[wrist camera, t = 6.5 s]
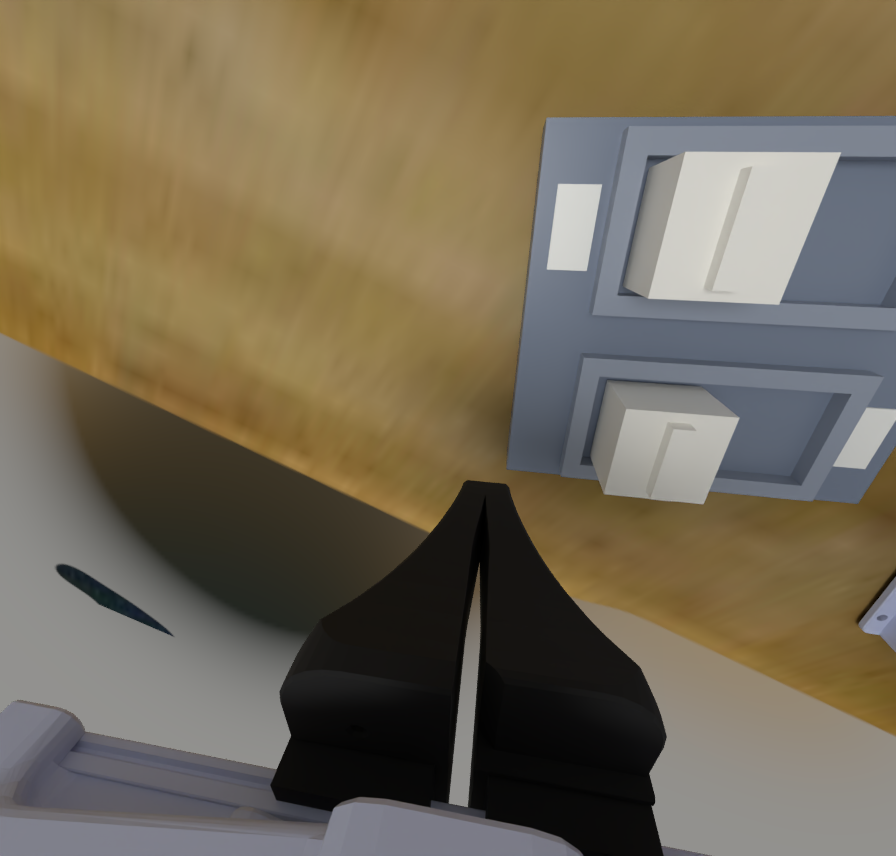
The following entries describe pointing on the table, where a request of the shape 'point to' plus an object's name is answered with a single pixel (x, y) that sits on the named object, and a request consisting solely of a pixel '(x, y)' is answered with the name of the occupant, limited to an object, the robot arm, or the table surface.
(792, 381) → the switch bank
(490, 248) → the table surface
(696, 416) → the far tab
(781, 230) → the near tab
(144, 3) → the table surface
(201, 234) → the table surface
